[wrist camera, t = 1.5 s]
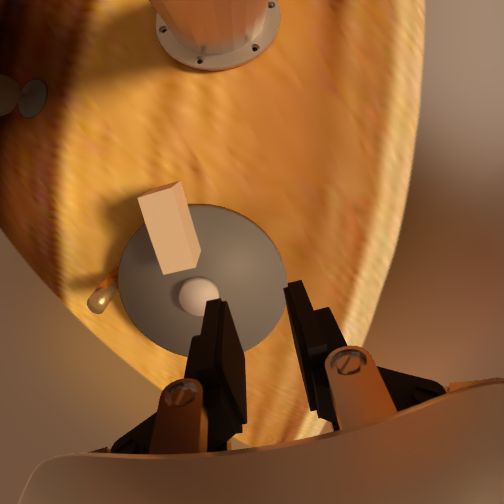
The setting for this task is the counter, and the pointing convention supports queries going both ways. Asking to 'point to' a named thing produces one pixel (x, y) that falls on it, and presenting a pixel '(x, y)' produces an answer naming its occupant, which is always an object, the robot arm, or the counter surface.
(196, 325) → the disc
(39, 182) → the counter surface
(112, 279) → the brown rounded oblong piece
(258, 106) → the counter surface
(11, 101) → the sundae
